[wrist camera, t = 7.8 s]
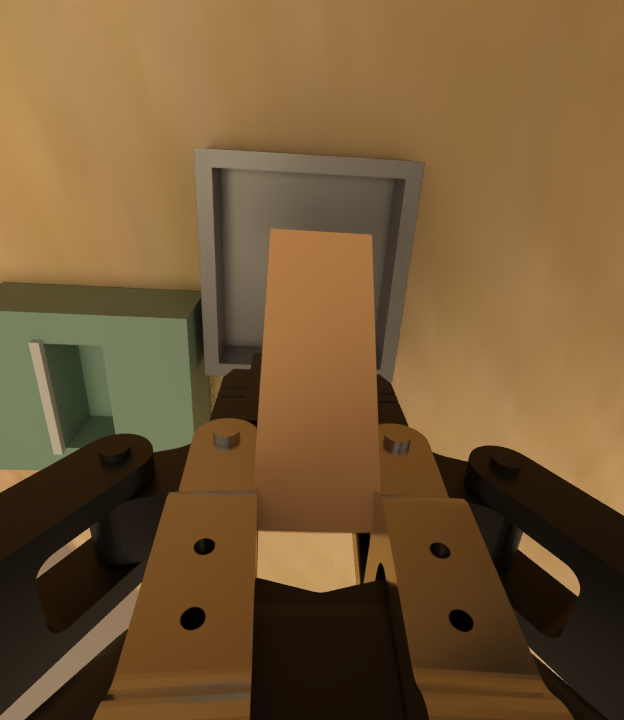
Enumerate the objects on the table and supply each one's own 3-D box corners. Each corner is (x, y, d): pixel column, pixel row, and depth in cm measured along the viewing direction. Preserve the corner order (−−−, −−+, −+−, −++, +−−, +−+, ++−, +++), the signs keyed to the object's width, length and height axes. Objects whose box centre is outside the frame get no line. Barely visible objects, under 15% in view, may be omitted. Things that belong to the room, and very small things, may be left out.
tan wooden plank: (327, 380, 17) (372, 234, 9) (325, 533, 15) (381, 532, 7) (275, 378, 17) (270, 228, 9) (266, 532, 15) (250, 530, 7)
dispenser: (204, 291, 28) (184, 321, 23) (211, 428, 32) (195, 478, 27) (3, 282, 27) (-62, 311, 22) (37, 422, 31) (-12, 473, 26)
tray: (408, 160, 25) (424, 161, 22) (382, 357, 30) (392, 382, 27) (207, 148, 24) (193, 147, 21) (215, 351, 29) (205, 375, 26)
